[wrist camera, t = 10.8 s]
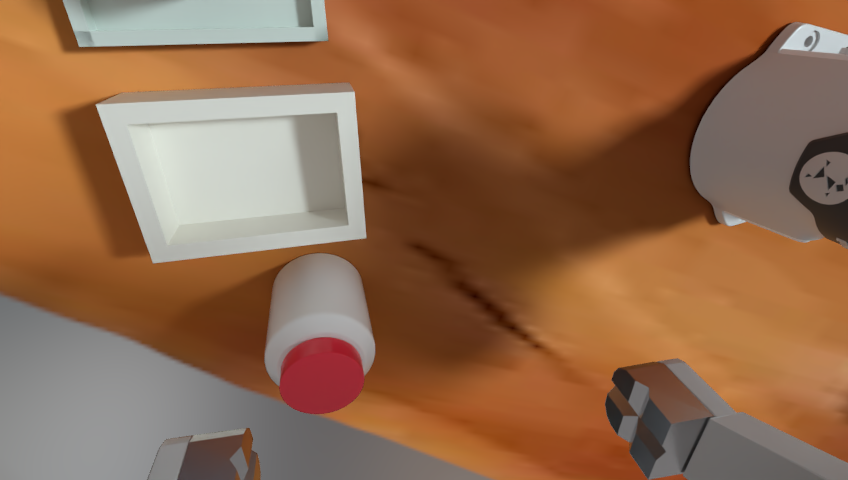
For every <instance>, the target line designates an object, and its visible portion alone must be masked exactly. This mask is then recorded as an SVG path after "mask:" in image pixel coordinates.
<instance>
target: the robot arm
mask: <svg viewBox="0 0 848 480" xmlns="http://www.w3.org/2000/svg"><path fill="white" fill-rule="evenodd" d="M690 172H691V177H692V181H693V184H694V186H695V188H696V189H697V191H698V192H699V193H700V194H701V195H702V196H703V197H704V198H705V199H706V200H708V201H709V202H710V203H711V204H712V206H713V209H714V213H715V216H716V219H717V220H718V222H719V223H722V224H724V225H727V226H734V225H737V224H740V223H743V222H746V221H747V222H749V223H752V224H754V225H757V226H759V227H762V228H765V229H767V230H770V231H772V232H775V233H777V234H780V235H782V236H785V237H788V238H790V239H793V240H795V241H799V242H809V241H811V240H818V239H821V238H824V237H825V238H827V239H829V240H831V241H834V242H836V243H838V244H840V245H842V246H843V247H844V248H846V249H848V35H846V34H842V33H839V32H835V31H832V30H828V29H825V28H821V27H818V26H814V25H811V24H806V23H800V22H794V23H792V24H790V25H789V26H787V27H786V28H785V29H784V30H783V31H782V32H781V33H780V34H779V35H778V37H777V38H776V39H775V40H774V41H773V43H772V44H771V45H770V46H769V48H768V49H767V50H766V52H765V53H764V54H762V55H761V56H760V57H759V58H758V59H756V60H755V61H754V62H752V63H751V64H750V65H748V66H747V67H745V68H744V69H743V70H741V71H740V72H739V73H738V74H737V75H735V76H734V77H733V78H732V79H731V80H730V81H729V82H728V83H727V84H726V85H725V86H724V87H723V89H722V90H721V91H720V92H719V93H718V95H717V96H716V97H715V99H714V100H713V101H712V103H711V104H710V106H709V107H708V109H707V111H706V112H705V114H704V116H703V118H702V120H701V122H700V124H699V126H698V129H697V131H696V134H695V137H694V140H693V144H692V149H691V155H690ZM612 381H613V383H614V384H615V387H614V388H613V389H612V390H611V391H610V392H609V393H608V394H607V398H606V402H605V407H606V413H607V417H608V419H609V422H610V424H611V426H612V427H613V429H614V430H615V432H616V433H617V435H618V436H620V437H622V438H623V439H625V440H627V441H628V442H629V453H630V454H631V455H632V457H633V458H634V460H635V461H636V463H637V464H638V466H639V467H640V469H641V470H642V471H643V473H644V474H645V476H646V477H647V479H648V480H649V479H654V478H660V477H665V476H671V475H677V474H682V473H684V474H683V476H684V477H685V478H687V479H688V480H848V463H846V462H844V461H842V460H840V459H838V458H836V457H834V456H832V455H830V454H828V453H826V452H823V451H821V450H819V449H817V448H815V447H813V446H811V445H809V444H807V443H805V442H803V441H801V440H799V439H797V438H795V437H793V436H791V435H789V434H787V433H784V432H782V431H780V430H778V429H776V428H774V427H772V426H770V425H768V424H766V423H764V422H762V421H760V420H758V419H756V418H754V417H752V416H750V415H748V414H746V413H743V412H739V413H736V412H735V411H734V410H733V409H732V408H731V407H730V406H729V405H728V404H727V403H726V402H725V401H724V400H723V399H722V398H721V397H720V396H719V395H718V394H717V393H716V392H715V391H714V390H713V389H712V388H711V387H710V386H709V385H708V384H707V383H706V382H705V381H704V380H702V379H701V378H700V377H699V376H698V375H697V374H696V373H695V372H694V371H693V370H692V369H691V368H690V367H689V366H688V365H687V364H686V363H685V362H684V361H682V360H680V359H678V358H677V359H670V360H664V361H658V362H649V363H644V364H638V365H632V366H627V367H621V368H618V369H617V370H616V371H615V372H614V374H613V377H612ZM252 442H253V437H252V434H251V431H250V429H249V428H244V429H236V430H229V431H221V432H214V433H206V434H199V435H193V436H186V437H179V438H172V439H166V440H165V441H164V442H163V444H162V445H161V446H160V448H159V450H158V453H157V455H156V458H155V461H154V463H153V466H152V468H151V471H150V474H149V476H148V479H147V480H260V465H259V459H258V455H257V453H256V452H254V451H252V450H251V448H252Z"/></svg>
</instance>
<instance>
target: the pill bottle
mask: <svg viewBox="0 0 848 480" xmlns="http://www.w3.org/2000/svg"><path fill="white" fill-rule="evenodd" d="M375 352H376V351H375V340H374V336H373V331H372V326H371V321H370V316H369V311H368V306H367V301H366V297H365V292H364V287H363V282H362V279H361V276H360V274H359V273H358V271H357V269H356V268H355V267H354V266H353V265H352V264H351V263H349V262H348V261H347V260H345V259H343V258H341V257H339V256H336V255H332V254H327V253H314V254H307V255H304V256H300V257H298V258H296V259H294V260H292V261H291V262H289V263H288V264H287V265H285V266H284V267H283V268H282V269H281V270H280V272H279V273H278V275H277V276H276V278H275V281H274V284H273V288H272V296H271V304H270V313H269V321H268V329H267V337H266V346H265V358H264V362H265V366H266V370H267V372H268V374H269V376H270V378H271V379H272V380H273V381H274V382H275V383H276V384H277V385H278V386H279V389H280V394H281V396H282V398H283V400H284V401H285V402H286V403H287V404H288V405H289V406H290V407H292V408H293V409H295V410H298V411H300V412H304V413H309V414H324V413H329V412H333V411H336V410H339V409H341V408H343V407H345V406H347V405H348V404H350V403H351V402H352V401H353V400H354V399H356V398H357V396H358V395H359V394H360V392H361V390H362V388H363V385H364V376H365V375H366V374H367V372H368V371H369V370H370V368H371V366H372V364H373V362H374V357H375Z"/></svg>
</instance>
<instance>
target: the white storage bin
mask: <svg viewBox="0 0 848 480" xmlns="http://www.w3.org/2000/svg"><path fill="white" fill-rule="evenodd" d="M96 107H97V110H98V112H99V115H100V118H101V121H102V124H103V126H104V129H105V132H106V135H107V137H108V140H109V143H110V146H111V148H112V151H113V154H114V157H115V159H116V162H117V165H118V168H119V170H120V173H121V176H122V179H123V182H124V184H125V187H126V190H127V193H128V195H129V198H130V201H131V204H132V206H133V209H134V212H135V215H136V217H137V220H138V223H139V226H140V228H141V231H142V234H143V237H144V240H145V242H146V245H147V248H148V251H149V253H150V256H151V259H152V262H153V263H161V262H169V261H178V260H186V259H195V258H203V257H212V256H220V255H228V254H237V253H245V252H254V251H262V250H271V249H279V248H288V247H296V246H305V245H313V244H322V243H330V242H338V241H347V240H355V239H364V238H366V226H365V213H364V201H363V189H362V177H361V165H360V153H359V140H358V128H357V116H356V104H355V92H354V90H353V88H352V87H351V85H350V83H328V84H305V85H283V86H260V87H238V88H215V89H193V90H170V91H148V92H125V93H120V94H118V95H116V96H113V97H111V98H109V99H107V100H105V101H102V102H100V103H98V104H96Z"/></svg>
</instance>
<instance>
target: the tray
mask: <svg viewBox="0 0 848 480" xmlns="http://www.w3.org/2000/svg"><path fill="white" fill-rule="evenodd" d="M63 3H64V6H65V8H66V11H67V14H68V17H69V20H70V22H71V25H72V28H73V31H74V34H75V36H76V39H77V42H78V45H79V47H98V46H138V45H179V44H219V43H259V42H300V41H328V34H327V24H326V15H325V5H324V0H63Z"/></svg>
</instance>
